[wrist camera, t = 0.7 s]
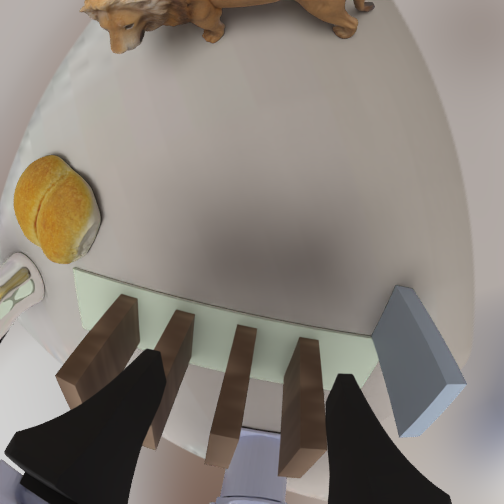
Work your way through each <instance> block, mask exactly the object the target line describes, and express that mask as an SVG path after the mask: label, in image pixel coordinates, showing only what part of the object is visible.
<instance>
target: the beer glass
mask: <svg viewBox="0 0 504 504" xmlns="http://www.w3.org/2000/svg"><path fill="white" fill-rule="evenodd" d="M44 292H45V291H44V284H43V280H42V277H41V275H40V273H39V271H38V269H37V267H36V266H35V265H34V263H33V262H32V261H31V260H30V259H29V258H28V257H27V256H26V255H24V254H22V253H19V252H17V253H14V254H12V255H11V256H10V257H9V258H8V259H7V260H6V261H5V262H4V263H3V264H2V265H1V266H0V343H1V342H2V340H3V338H4V337H5V335H6V334H7V332H8V331H9V329H10V328H11V326H12V325H13V323H14V322H15V320H16V319H17V318H18V317H19V316H20V315H21V314H22V313H23V312H24V311H25V310H27V309H28V308H30V307H32V306H34V305H35V304H37V303H39V302H40V301H42V299H43V298H44Z"/></svg>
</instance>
